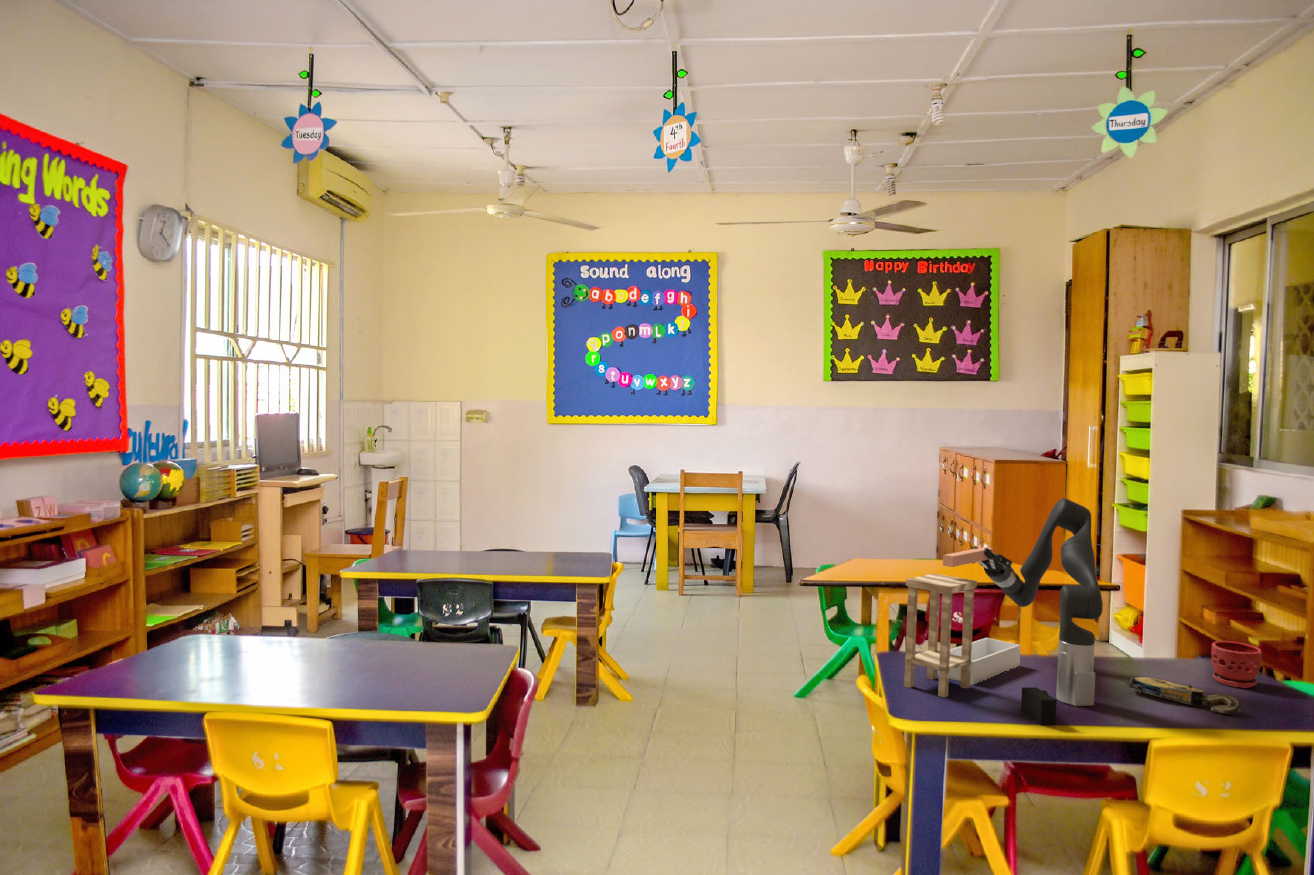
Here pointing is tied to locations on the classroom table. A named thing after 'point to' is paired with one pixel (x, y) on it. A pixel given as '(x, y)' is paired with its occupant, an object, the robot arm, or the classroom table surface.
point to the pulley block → (1185, 694)
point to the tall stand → (943, 657)
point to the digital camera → (1039, 706)
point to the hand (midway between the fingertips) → (979, 549)
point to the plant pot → (1235, 663)
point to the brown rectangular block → (965, 557)
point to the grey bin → (988, 659)
